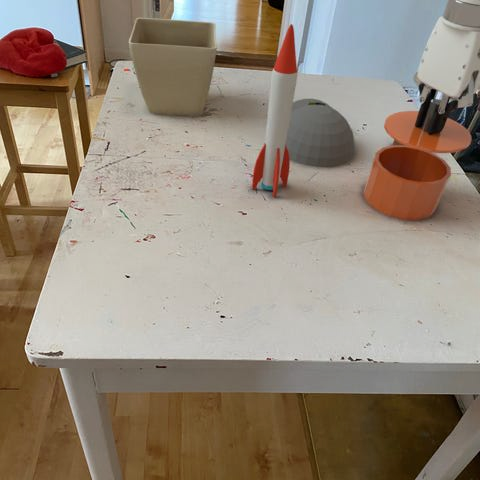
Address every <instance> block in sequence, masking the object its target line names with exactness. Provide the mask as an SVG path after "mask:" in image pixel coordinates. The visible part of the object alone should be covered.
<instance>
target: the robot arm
mask: <svg viewBox="0 0 480 480" xmlns="http://www.w3.org/2000/svg"><path fill="white" fill-rule="evenodd" d="M418 65H419V66H418V70H417V72H416V73H415V74H414V75H413V78H412V79H413V82H414V83H415V85H416V86H417V87H418V92H419V95H420V97H419V103H420V107H419V110H418V111H419V113H418V116H417V120H416V123H415V126H416V127H421V126H422V124H423V121H424V118H425V115H426V113H427V110H428V107H429V104H430V101H431V100H432V99H437V97H438V94H439V93H441V94H442V95H441V99H440V100H441V103H440V106H439V109H438V111H437V112H435V113H434V114H433V117H432V120H431V123H430V125H429V128H428V131H427V133H428V134H429V135H433V134H436V133H440V132H441V131H442V130H443V128H444V126H445V123H446V121H447V118H449V115H450V113H452V112H454V111H455V110H457V109H460V108H468V107H472V106H473V104H474V95H475V94H476V93H477V91H478V89H479V87H480V0H447V1H446V5H445V7H444V11H443V14H442V15H441V16H439V17H438V19H437V21H436V23H435V25H434V27H433V28H432V32H431V34H430V35H429V38H428V40H427V43H426V45H425V48H424V50H423V53H422V56H421V59H420V61H419V64H418ZM460 97H461V98H460Z"/></svg>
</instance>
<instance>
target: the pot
mask: <svg viewBox="0 0 480 480" xmlns="http://www.w3.org/2000/svg"><path fill="white" fill-rule="evenodd" d="M451 169H452V168H451V166H450V165H449V164H448V163H447V161H445V159H443V158H442V157H440V156H439V155H437V154H436V153H433V152H426V151H421V150H418V149H414V148H411V147H408V146H406V145H393V144H392V145H388V146H384V147H381V148H379V149H378V150H377V151H376V152H375V153H374V157H373V159H372V163H371V167H370V169H369V172H368V176H367V180H366V181H365V186H364V189H363V197H364V198H365V200H366V202H367V204H369V205H370V206H371V207H372V208H373V209H374V210H376V211H377V212H379V213H381V214H384V215H386V216H388V217H390V218H395V219H400V220H403V221H420V220H424V219H426V218H429V217H431V216H432V215H433V214H434V212H436V210H437V207H438V205H439V204H440V201H441V199H442V196H443V194H444V192H445V189H446V188H447V185H448V183H449V181H450V179H451V177H452V170H451Z"/></svg>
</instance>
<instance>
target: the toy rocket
mask: <svg viewBox="0 0 480 480" xmlns="http://www.w3.org/2000/svg"><path fill="white" fill-rule="evenodd" d="M295 41H296V39H295V28H294V25H293V23H291V24H289V26H288V28H287V31H286V33H285V36H284V39H283V42H282V44H281V46H280V50H279V53H278V55H277V58H276V61H275V63H274V66H273V68H272V72H271V79H270V89H269V99H268V109H267V118H266V129H265V138H264V144H263V146H262V147H261V149H260V151H259V153H258V156H257V158H256V160H255V164H254V167H253V173H252V183H251V190H252V191H255V190H256V189H257V186H258V185H259V183H260V186H261V188H262V189H264V190H267V191H272V197H273V198H274V199H276V198H277V193H278V188H279V185H280V180H281V184H282V187H283V188H287V187H288V180H289V174H290V165H291V164H290V162H291V160H290V159H289V153H288V149H287V147H286V139H287V133H288V127H289V122H290V116H291V110H292V105H293V102H294V99H295V94H296V93H295V92H296V87H297V81H298V65H297V54H296V42H295Z"/></svg>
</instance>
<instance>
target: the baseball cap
mask: <svg viewBox="0 0 480 480" xmlns="http://www.w3.org/2000/svg"><path fill="white" fill-rule="evenodd" d="M286 147H287V149H288V153H289V159H290V161H292V162H293V163H297V164H301V165H304V166H309V167H316V168H331V167H337V166H341V165H342V164H343V165H344V164H346V163H347V162H348V161H350V160H351V159H352V158H353V156H354V150H355V139H354V132H353V130H352V128H351V126H350V124H349V121H348V120H347V119H346V118H345V117H344V116H343V115H342V114H341V113H340V112H339V111H338V110H336V109H335V108H333V107H332V106H331V105H329V104H328V103H327V102H325V101H322V100H320V99H316V98H302V99H298V100H295V101H293V105H292V110H291V116H290V122H289V127H288V133H287V139H286Z"/></svg>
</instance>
